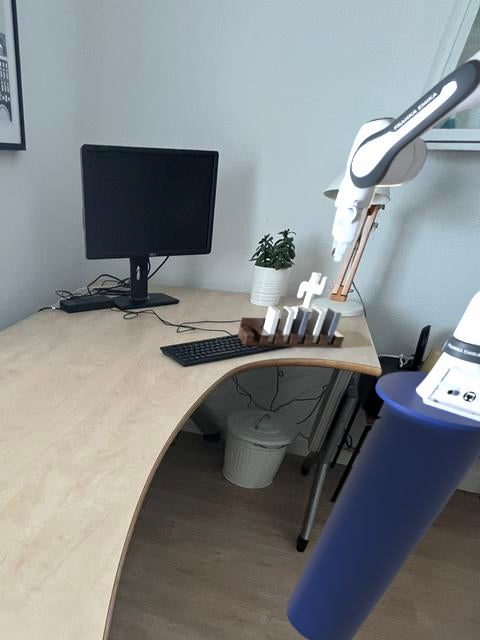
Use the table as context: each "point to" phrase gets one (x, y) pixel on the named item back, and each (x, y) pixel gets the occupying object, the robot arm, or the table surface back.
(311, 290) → the figurine
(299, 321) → the grey book
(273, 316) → the white book
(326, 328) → the grey book
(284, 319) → the white book
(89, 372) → the table surface
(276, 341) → the book rack
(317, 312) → the white book
